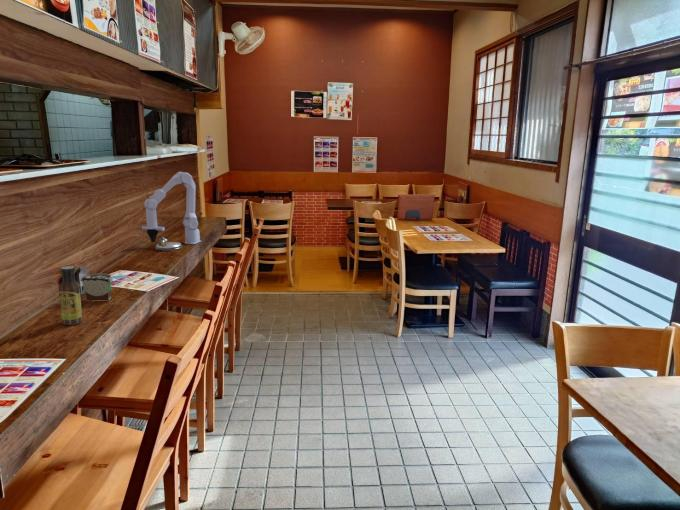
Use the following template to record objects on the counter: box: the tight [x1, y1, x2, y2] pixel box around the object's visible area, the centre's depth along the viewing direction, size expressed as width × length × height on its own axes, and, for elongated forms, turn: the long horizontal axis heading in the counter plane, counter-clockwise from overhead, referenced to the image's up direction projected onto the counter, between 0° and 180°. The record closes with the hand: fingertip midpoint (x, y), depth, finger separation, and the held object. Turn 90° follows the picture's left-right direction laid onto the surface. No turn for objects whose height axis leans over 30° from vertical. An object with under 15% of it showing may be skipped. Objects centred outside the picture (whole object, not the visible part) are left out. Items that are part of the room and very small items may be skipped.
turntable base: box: [154, 244, 183, 252], centre depth 283 cm, size 15×15×1 cm
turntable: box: [155, 240, 182, 249], centre depth 282 cm, size 14×14×5 cm
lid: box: [158, 237, 169, 245], centre depth 282 cm, size 5×5×4 cm
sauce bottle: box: [58, 265, 83, 326], centre depth 163 cm, size 6×6×20 cm
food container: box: [80, 272, 114, 301], centre depth 190 cm, size 12×6×10 cm, turn 84°
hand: (153, 242), depth 284 cm, fingers closed
